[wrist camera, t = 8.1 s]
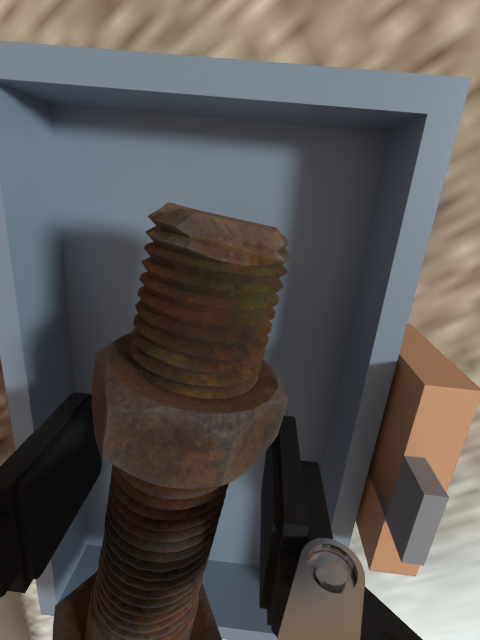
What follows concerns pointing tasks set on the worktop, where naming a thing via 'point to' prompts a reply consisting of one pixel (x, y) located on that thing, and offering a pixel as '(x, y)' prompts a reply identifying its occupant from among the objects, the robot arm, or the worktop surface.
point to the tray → (232, 201)
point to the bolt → (179, 423)
